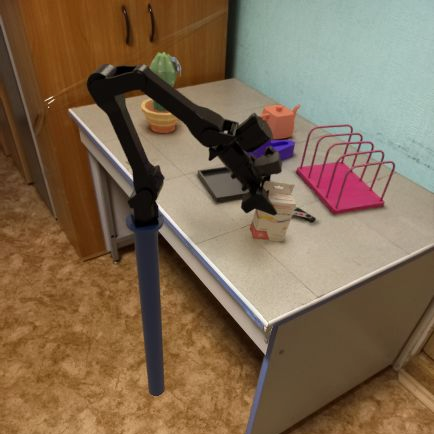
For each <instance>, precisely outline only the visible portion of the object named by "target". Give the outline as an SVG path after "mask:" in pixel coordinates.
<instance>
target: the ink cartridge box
mask: <svg viewBox="0 0 434 434" xmlns="http://www.w3.org/2000/svg"><path fill="white" fill-rule="evenodd" d="M263 187H264V189H265V190H266V191H267V190H269V196H268V198H269V200H270V201H271V203H272V205H273V206H274V208H275V209H276V211H277V214H276V215H274V216H273V215H271V214H268V213H266V212H263V211H260V210H257V209H254V213H253V217H252V220H251V223H250V226H249V230H250V233H251V236H252V239H253V240H264V241H265V240H266V241H276V242H283V241H284V239H285V237H286V234H287V231H288V228H289V226H290V224H291V220H292V218H293V217H292V215H293V212H294V209H295V207H297V203H296V200H295V198H294V196H293V195H292V194H293V191H294V189H295V184H294V183H287V182H279V181H271V180H270V181H265V183H264V186H263ZM273 187H275V188H273ZM278 187H280V188H278Z"/></svg>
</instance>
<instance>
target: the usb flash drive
mask: <svg viewBox="0 0 434 434" xmlns="http://www.w3.org/2000/svg"><path fill="white" fill-rule="evenodd" d="M292 218H294V219H299V220H302V221H307V222H308V223H310V224H313V223H315V222H316V220H317V219H316V217H314V216H313V215H312V214H311V213H308V212H306V211H305V210H303V209H301V208H300V207H298V206H296V207H295V209H294V212H293V215H292Z"/></svg>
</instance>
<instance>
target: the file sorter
mask: <svg viewBox="0 0 434 434" xmlns="http://www.w3.org/2000/svg"><path fill="white" fill-rule="evenodd" d="M345 127H348V128H349V129H350V132H346V133H345V132H344V133H332V134H325V135H323V136H321V137H320V138H319V139H318V140H317V142H316V144H315V149H314V152H313V156H312V160H311V164H310V165H304V161H305V158H306V154H307V150H308V146H309V141H310V139H311V134H312V133H313V132H314V131H315V130H317V129H318V130H319V129H329V128H345ZM344 136H345V137H346V136H348V138H347V141H343V142H334V143H333V144H332V145H330V146H329V147H328V148H327V151H326V153H325V157H324V159H323V163H319V164H315V160H316V156H317V152H318V148H319V145H320V143H321V141H322V140H323V139H325V138H333V137H344ZM352 136H359V137H360V140H359V141H351V139H352ZM362 144H363V145H364V144H369V145H370V146H371V149H370V150H365V151H360V149H361V147H362ZM343 145H346V146H345V148H344V149H345V150H344V152H343V154H342V155H341V156H339V157H338V159H337V160H336V162H327V160H328V157H329V153H330V152H331V149H332V148H334V147H337V146H343ZM349 145H358V146H357V149H356V152H349V153H347V151H348V148H349ZM374 153H381V158H380V161H377V162H370V160H371V158H372V156H373V154H374ZM366 154H367V155H368V157H367V159H366V162H365V163H361V164H356V162H357V158H358V155H366ZM352 156H354V159H353V161H352V164H351V167H350V166H348V165H347V164H346V163H345V161H344V160H345V158H346V157H352ZM384 159H385V152H384V151H383V150H382V149H375V144H374V143H373V142H372V141H370V140H364V137H363V135H362V134H361V133H360V132H354V129H353V126H352V125H351V124H347V123H345V124H332V125H331V124H329V125H328V124H327V125H317V126H314V127H312V128H311V129H310V130H309V131H308V134H307V137H306V141H305V145H304V150H303V154H302V158H301V163H300V166H298V167H296V171H295V172H296V174H298V176H299V177H300V178H301V179H302V180H303V181H304V183H306V185H307V186H308V187H309V188H310V189H311V190H312V192H313V193H314V194H315V195H316V196H317V197H318V199H320V201H321V202H322V203H323V204H324V205H325V206H326V207H327V209H328V210H329V211H330V212H331V213H332V215H339V214H346V213H351V212H352V213H353V212H358V211H365V210H369V209H371V210H372V209H376V208H382V207H384V206H385V204H386V203H385V201H384V200H383V199H384V197H385V195H386V192H387V189H388V187H389V185H390V182H391V180H392V178H393V174H394V172H395V169H396V163H395V162H394V161H392V160H384ZM355 164H356V165H355ZM385 164H392V168H391V171H390V174H389V176H388V179H387V181H386V184H385V187H384V189H383V191H382V194H381V196H380V195H379V194H378V193H377V192H375V191H374V190H373V188H374V186H375V183H376V180H377V178H378V175H379V172H380V170H381V167H382V165H385ZM376 165H378V167H377V169H376V172H375V174H374V177H373V179H372V182H371V184H370V186H369V185H368V184H367V183H366V182H365V181H364V180H363V178H364V176H365V173H366V170H367V168H368V167H371V166H376ZM362 167H364V168H363V169H362V173H361V175H360V176H359V175H358V174H357V173H356V172H354V171H353V170H354V169H356V168H362Z"/></svg>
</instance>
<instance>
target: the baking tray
mask: <svg viewBox="0 0 434 434" xmlns="http://www.w3.org/2000/svg"><path fill="white" fill-rule="evenodd" d="M197 176H198V178H199V179H200V181H201V182H202V184H203V185H204V187H205V188H206V190H207V192H208V193H209V194H210V196H211V197H212V199H213V200H214V202H215V203H216V204H220V203H224V202H225V203H226V202H231V201H236V200H237V201H238V200H242V198H243V195H245V194H246V193H248V192H249V190H248V189H247V190H246V191H244V192H243V191H242V189H241V187H242V185H241V184H240V182H239V181H238V180H237V179H236V178H235V179H232V178H231V177H230V176H231V172H230V171H229V170H228V168H227V167H226V166H225V165H224V166H219V167H212V168H205V169H199V170H197ZM273 188H276V186H274V187H273Z"/></svg>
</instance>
